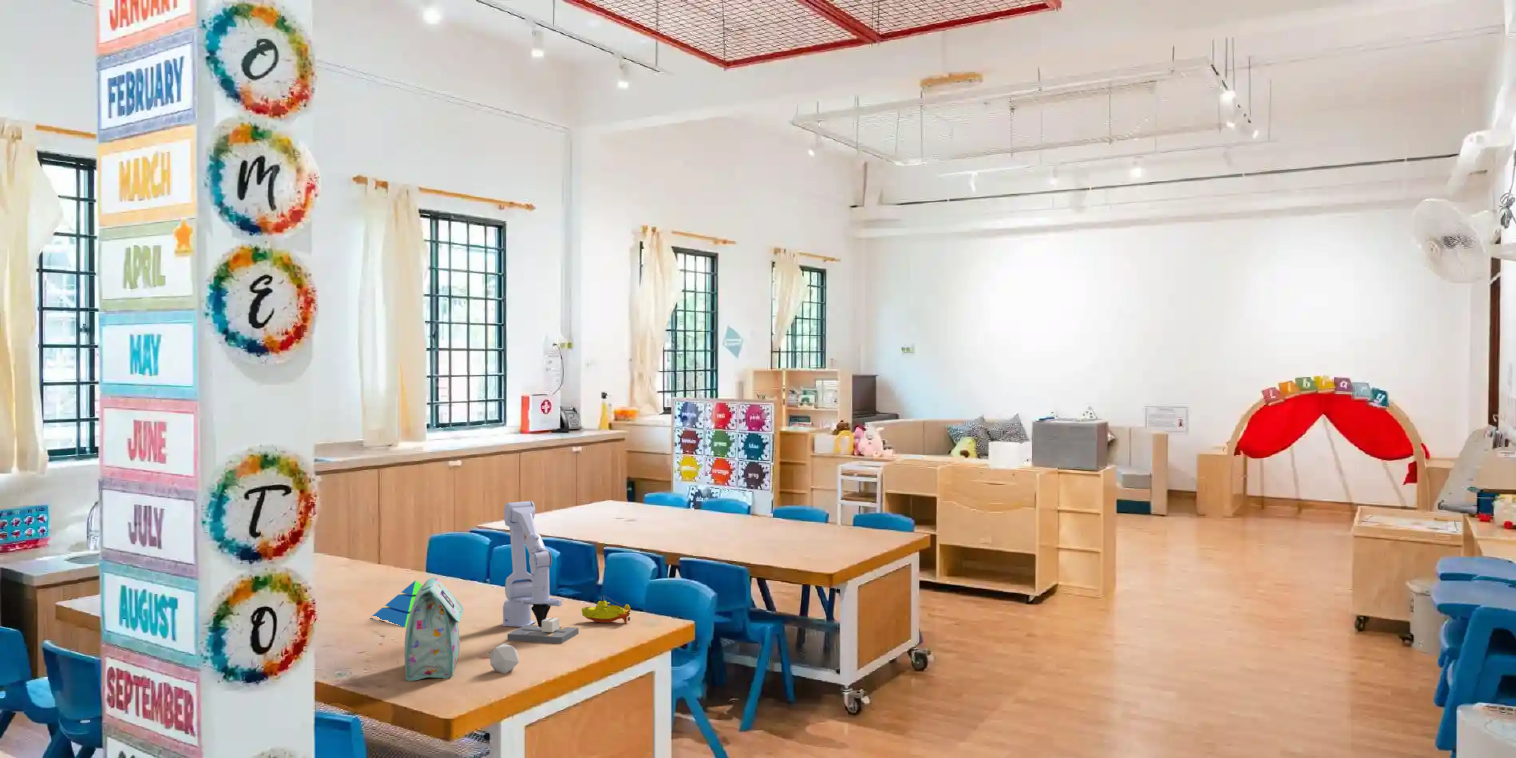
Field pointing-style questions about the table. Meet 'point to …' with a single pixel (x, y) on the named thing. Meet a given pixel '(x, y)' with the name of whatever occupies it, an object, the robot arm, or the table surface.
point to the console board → (542, 634)
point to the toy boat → (606, 612)
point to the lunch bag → (432, 633)
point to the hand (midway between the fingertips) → (541, 626)
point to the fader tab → (550, 624)
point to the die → (504, 658)
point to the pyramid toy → (400, 606)
